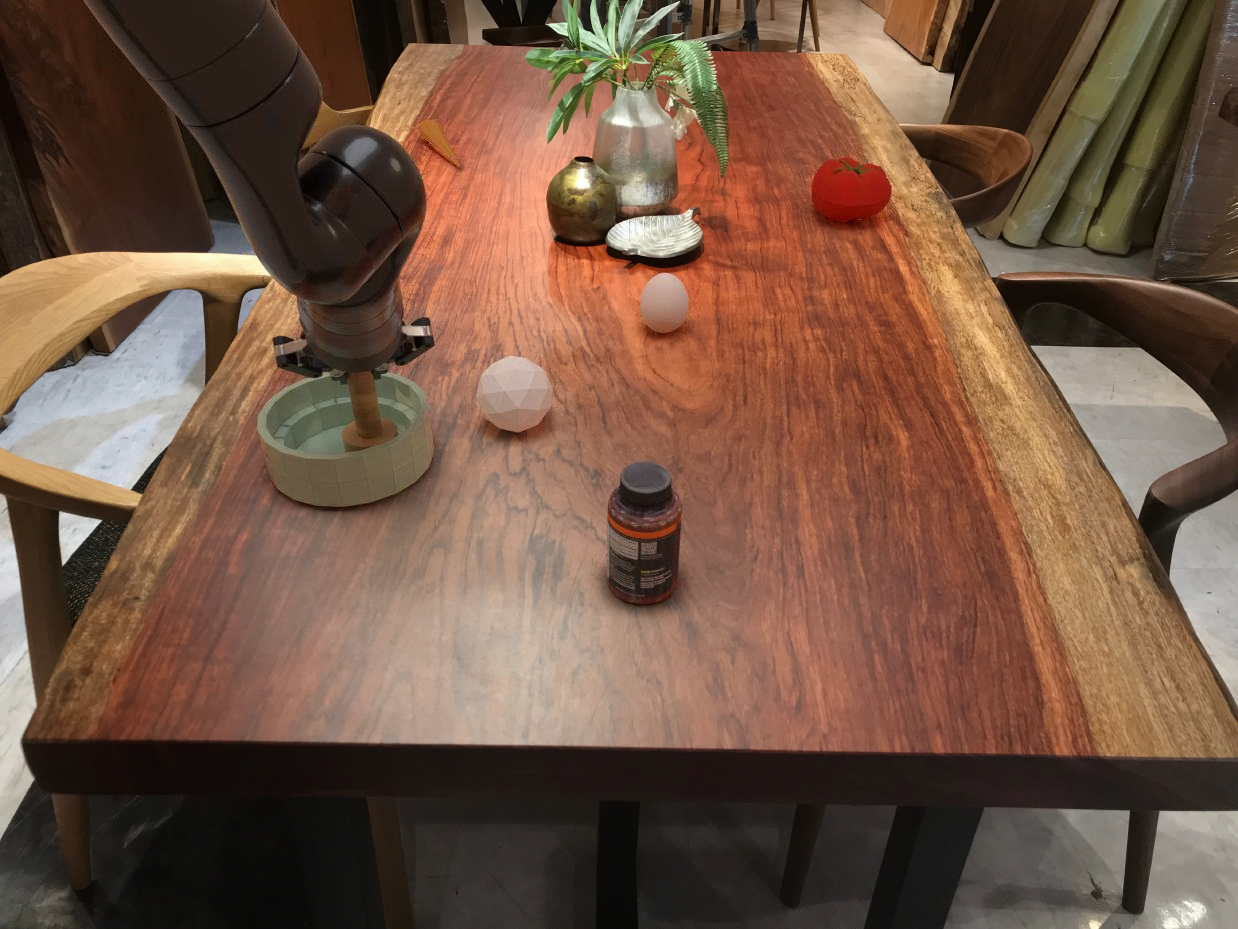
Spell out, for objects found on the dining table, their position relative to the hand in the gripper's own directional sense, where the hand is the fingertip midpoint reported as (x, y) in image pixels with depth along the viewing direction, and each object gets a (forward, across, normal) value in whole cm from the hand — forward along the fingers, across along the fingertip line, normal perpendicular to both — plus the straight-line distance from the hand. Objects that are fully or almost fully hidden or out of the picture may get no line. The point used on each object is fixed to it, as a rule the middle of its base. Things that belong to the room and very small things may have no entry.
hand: (358, 371), depth 84 cm
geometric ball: (+7, -15, +6) cm, 18 cm away
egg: (+18, -38, -5) cm, 42 cm away
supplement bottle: (-12, -19, +25) cm, 34 cm away
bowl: (+6, +2, +7) cm, 9 cm away
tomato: (+38, -81, -24) cm, 92 cm away
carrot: (+73, -24, -60) cm, 97 cm away
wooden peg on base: (+4, 0, +7) cm, 8 cm away
